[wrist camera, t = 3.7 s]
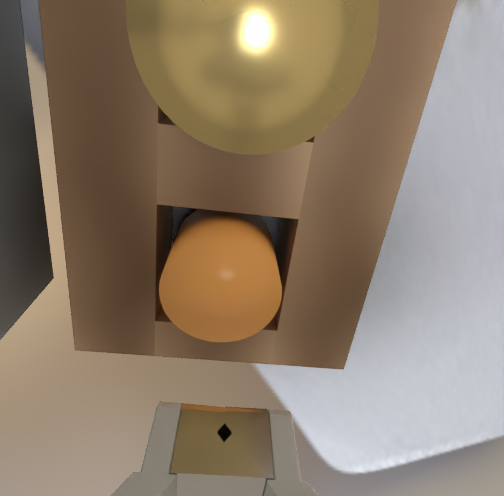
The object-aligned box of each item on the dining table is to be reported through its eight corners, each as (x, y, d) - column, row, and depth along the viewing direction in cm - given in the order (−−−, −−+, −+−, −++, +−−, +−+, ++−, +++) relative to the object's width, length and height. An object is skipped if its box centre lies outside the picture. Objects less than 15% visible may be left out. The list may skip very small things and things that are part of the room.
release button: (172, 288, 17) (158, 338, 14) (175, 198, 15) (160, 232, 12) (266, 296, 18) (272, 346, 15) (280, 209, 16) (291, 245, 13)
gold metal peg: (191, 96, 16) (128, 140, 7) (196, -19, 14) (121, -169, 5) (285, 109, 16) (346, 167, 7) (302, -2, 14) (412, -114, 5)
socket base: (104, 298, 20) (74, 350, 16) (78, -170, 12) (10, -269, 8) (325, 316, 21) (343, 369, 17) (433, -104, 13) (508, -167, 9)
